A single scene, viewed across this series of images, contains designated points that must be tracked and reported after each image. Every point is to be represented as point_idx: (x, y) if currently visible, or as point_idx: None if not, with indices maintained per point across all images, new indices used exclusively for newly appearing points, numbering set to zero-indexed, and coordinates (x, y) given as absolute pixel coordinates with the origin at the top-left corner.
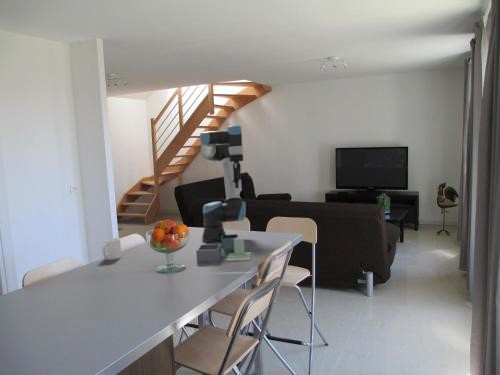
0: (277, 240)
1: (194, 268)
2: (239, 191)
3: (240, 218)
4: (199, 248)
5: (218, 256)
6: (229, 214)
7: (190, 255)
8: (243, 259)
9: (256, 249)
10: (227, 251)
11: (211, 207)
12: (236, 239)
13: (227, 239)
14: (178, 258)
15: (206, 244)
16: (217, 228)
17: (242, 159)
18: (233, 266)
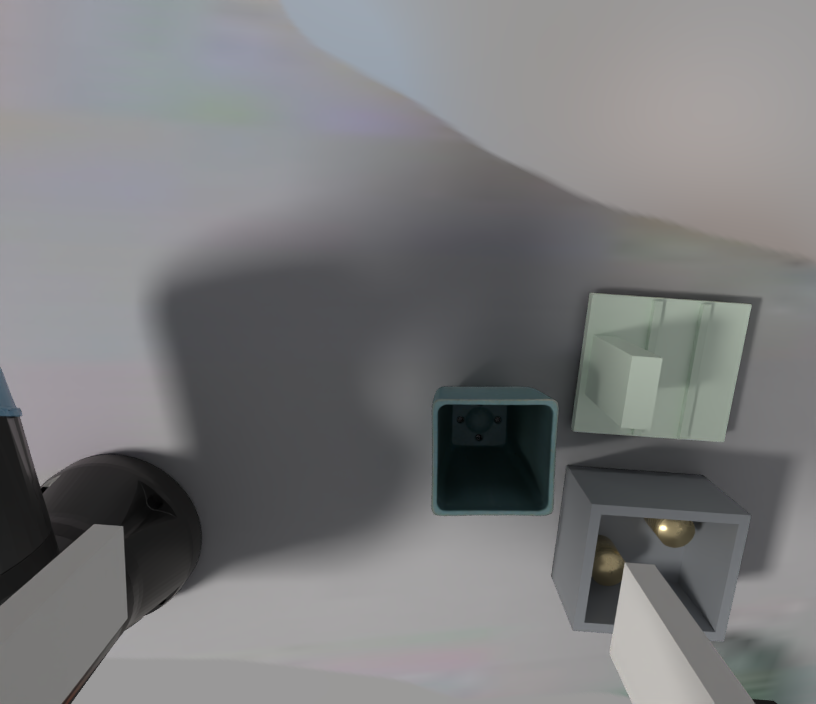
0: (219, 78)
1: (754, 591)
2: (677, 605)
3: (9, 391)
4: None
5: (724, 494)
6: (22, 514)
7: (486, 635)
8: (743, 341)
9: (450, 251)
10: (517, 440)
11: None
12: (653, 408)
13: (553, 469)
14: (532, 687)
15: (582, 594)
16: (125, 555)
17: None
18: (792, 395)
